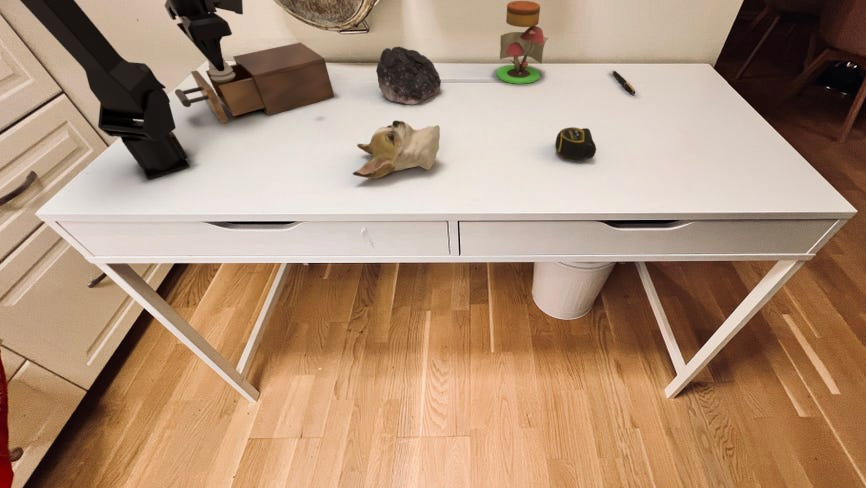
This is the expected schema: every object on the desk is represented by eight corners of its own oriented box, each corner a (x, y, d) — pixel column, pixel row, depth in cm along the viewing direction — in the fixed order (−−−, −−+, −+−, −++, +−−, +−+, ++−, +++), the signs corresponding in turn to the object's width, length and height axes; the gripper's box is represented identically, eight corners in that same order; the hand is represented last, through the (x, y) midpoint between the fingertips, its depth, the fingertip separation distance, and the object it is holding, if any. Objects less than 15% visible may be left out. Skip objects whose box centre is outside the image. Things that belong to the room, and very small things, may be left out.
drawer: (197, 129, 75) (179, 96, 71) (182, 108, 81) (165, 77, 76) (289, 104, 83) (278, 73, 78) (270, 86, 89) (258, 56, 84)
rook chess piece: (240, 78, 78) (221, 33, 72) (217, 84, 76) (196, 38, 70) (230, 72, 80) (211, 28, 74) (208, 78, 78) (186, 33, 72)
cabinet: (269, 115, 81) (253, 75, 75) (249, 95, 88) (232, 56, 82) (334, 97, 88) (324, 58, 82) (311, 79, 94) (300, 42, 88)
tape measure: (593, 164, 70) (598, 145, 68) (555, 162, 70) (559, 143, 68) (588, 144, 75) (592, 126, 72) (552, 143, 75) (555, 124, 72)
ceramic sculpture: (440, 132, 59) (341, 143, 59) (446, 180, 66) (357, 191, 65) (436, 102, 67) (347, 111, 66) (442, 148, 73) (361, 157, 72)
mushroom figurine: (547, 85, 93) (557, 12, 82) (495, 84, 93) (498, 11, 82) (543, 66, 101) (551, -2, 90) (494, 66, 101) (497, -3, 90)
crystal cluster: (451, 100, 89) (451, 51, 82) (397, 109, 83) (392, 57, 76) (422, 84, 97) (420, 39, 91) (371, 92, 91) (365, 44, 84)
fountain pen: (609, 72, 99) (610, 66, 98) (613, 72, 100) (615, 66, 98) (631, 96, 90) (633, 90, 89) (636, 96, 90) (638, 89, 89)
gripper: (242, -28, 64) (277, 72, 75) (210, -45, 73) (246, 46, 85) (165, -19, 59) (215, 87, 70) (142, -39, 68) (189, 57, 80)
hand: (218, 67), depth 76 cm, fingers closed on rook chess piece, 3 cm apart
